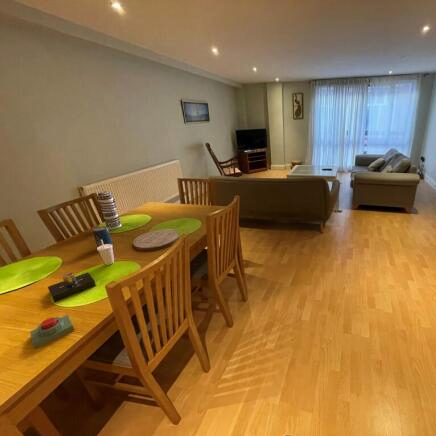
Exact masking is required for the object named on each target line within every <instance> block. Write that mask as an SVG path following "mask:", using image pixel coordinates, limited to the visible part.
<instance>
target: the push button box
mask: <svg viewBox="0 0 436 436" xmlns="http://www.w3.org/2000/svg"><path fill="white" fill-rule="evenodd" d="M54 318H55V319H56V321H57V324H56V325H55V326H53V327H51V328H49V329H43V328H42V326H41V323H40V324H39V325H38V326H37V327H36V328H35V329H32V330H30V331H29V335H30V338H31V342H32V345H33V347H34V349H35V350H37V349H39V348H42V347H43V346H45V345H47V344H49V343H51V342H54V341H55V340H57V339H59V338H61V337H63V336H66V335H67V334H70V333H72V332H73V331H75V330H76V329H75V327H74V325H73V323H72V320H71V318H70V316H69V314H65V315H64V316H61V317H59V316H57V317H54Z"/></svg>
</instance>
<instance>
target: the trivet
mask: <svg viewBox="0 0 436 436" xmlns="http://www.w3.org/2000/svg"><path fill="white" fill-rule="evenodd" d="M178 238H179V239H180V232H179V231H178V230H175V229H171V228H169V229H167V228H164V229H163V228H162V229H157V230H151V231H148V232H145V233H142V234H141V235H139V236H137V237H136V238H134V240H133V243H132V244H133V247H134V249H136V250H138V251H145V252H146V251H147V252H149V251H157V250H161V249H165V248H168V247H170V246H173V245H174V244H175V243H177V242H178V241H177V239H178ZM176 241H177V242H176Z"/></svg>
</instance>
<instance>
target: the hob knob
mask: <svg viewBox="0 0 436 436" xmlns="http://www.w3.org/2000/svg"><path fill="white" fill-rule="evenodd" d="M75 277H76V276H75V274H74V272H73V271H72V272H67V273H64V274H63V275H62V276H61V278H62V280H63V281H64V282H65V284H66V286H71V285H74V284H75V283H76V282H77V281H76V279H75Z"/></svg>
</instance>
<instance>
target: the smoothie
mask: <svg viewBox="0 0 436 436" xmlns="http://www.w3.org/2000/svg"><path fill="white" fill-rule="evenodd" d="M101 242H102V245H101V246H99V247H98V246H97V248H96V250H97V252H98V253H99V255H100V257H101V258H102V260H103V262H104V264H105V265H106V266H111V265H113V264H114V263H115V257H114V251H113V250H114V249H113V248H114V246H113V243H112V244H105V245H104V244H103V241H102V240H101ZM112 263H113V264H112ZM110 264H111V265H110Z"/></svg>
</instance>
